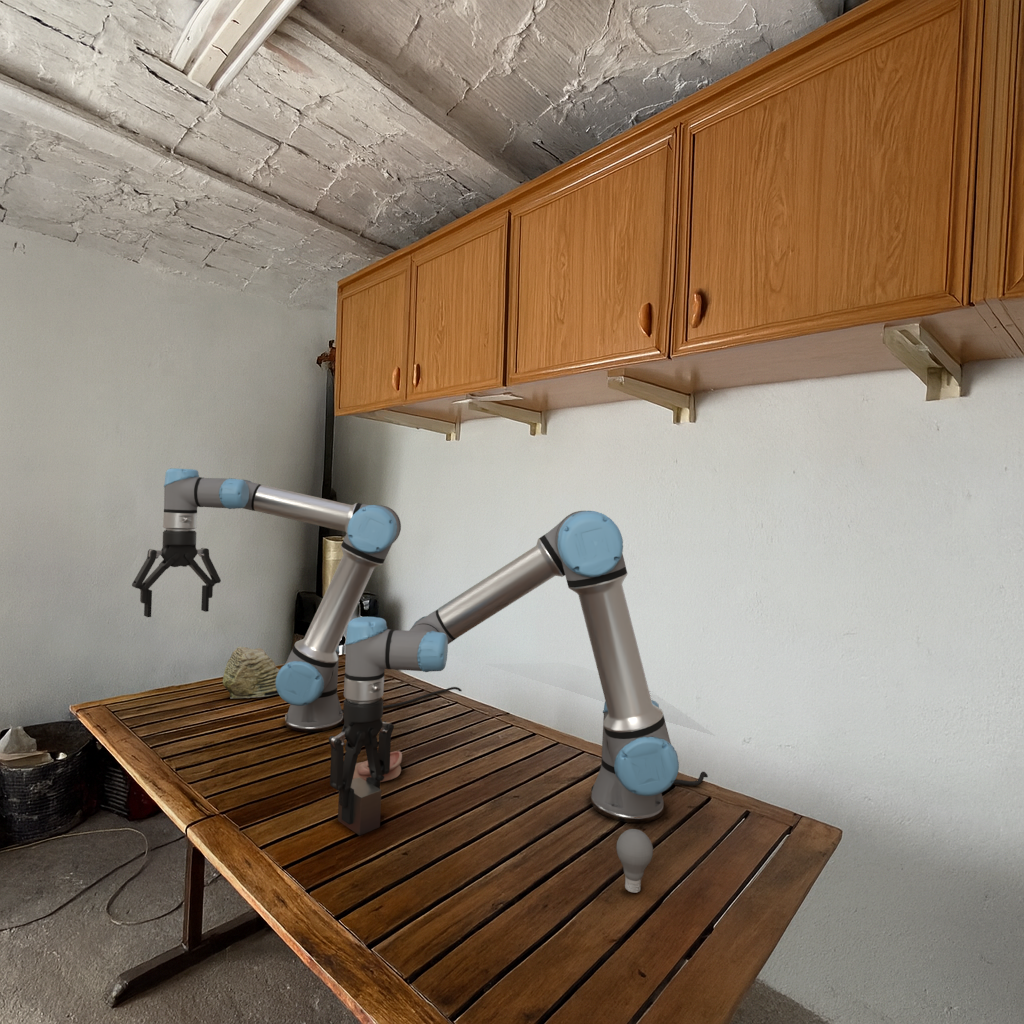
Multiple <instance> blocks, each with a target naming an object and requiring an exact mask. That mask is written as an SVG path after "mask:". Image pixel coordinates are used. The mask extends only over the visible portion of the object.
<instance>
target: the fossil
mask: <svg viewBox="0 0 1024 1024" xmlns="http://www.w3.org/2000/svg"><path fill="white" fill-rule="evenodd" d="M279 670H280V669H279V668H278V667H277V665H276V663H275V662H274V660H273V659H272V658H271V657H270V656H269V655H268V654H267V653H266V652H265V650H264V649H263V648H260V647H258V648H251V647H247V646H246V647H245V646H238V647H237V648H236V649H235V650H233V651H232V653H231V656H230V657H229V659H228V660H227V663H226V666H225V668H224V671H223V675H222V676H223V677H222V685H223V687H224V688H225V690H226V691H228V693H229V698H230V699H250V698H264V697H271V696H275V695H279V694H278V692H277V689H276V677H277V674H278V672H279Z"/></svg>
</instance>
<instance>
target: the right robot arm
mask: <svg viewBox="0 0 1024 1024" xmlns="http://www.w3.org/2000/svg"><path fill="white" fill-rule="evenodd" d="M623 551H624V539H623V535H622V533H621V529H619V526H618V525H617V524H616V523H615V521H613V519H611V517H610V516H608V515H606V514H604V513H602V512H599V511H595V510H578V511H573V512H572V513H570V514H568V515H566V516H565V517H564V518H563V519H562V520H561V521H559V522H558V523H557V524H556V525H555V526H554V527H553V528H552V529H550V530H549V531H547V532H546V533H545V534H543V535H542V536H540V537H538V538H537V541H536V545H535V546H534V547H532V548H530V549H529V550H527V551H526V552H524V553H522V554H521V555H519V556H518V557H516V558H514V559H513V560H512V561H510V562H509V563H507V564H505V565H504V566H502V567H501V568H499V569H497V570H496V571H495V572H492V573H491V574H490V575H488V576H487V577H485V578H484V579H482V580H481V581H479V582H477V583H476V584H474V585H473V586H471V587H470V588H468V589H467V590H465V591H463V592H462V593H460V594H458V595H457V596H455V597H453V598H452V599H451V600H449V601H448V602H446V603H445V604H443V605H441V606H440V607H438V609H436V610H434V611H432V612H430V613H429V614H428V615H426V616H422V617H420V618H419V619H417V620H416V621H414V624H413V625H412V626H411V628H409V630H403V629H401V630H398V629H397V630H396V629H389V628H388V626H387V621H386V619H385V618H382V617H376V616H359V617H355V618H351V619H350V621H349V623H348V625H347V628H346V637H345V643H344V644H345V660H344V662H345V663H344V684H343V685H344V686H343V697H344V698H345V699H344V700H343V707H342V708H343V709H342V710H343V726H342V729H341V732H339V734H336V735H335V736H334V735H331V736H329V738H328V743H329V745H330V773H329V774H330V775H329V786H330V787H332V788H333V789H335V790H336V791H338V801H339V804H340V805H341V806H342V820H343V821H345V822H346V823H348V824H349V825H350V824H353V804H354V789H352V788H351V784H352V779H353V775H354V771H355V766H356V763H358V758H359V755H360V754H361V751H362V748H365V754H366V761H367V760H368V766H369V771H370V775H371V777H368V778H366V781H367V782H368V783H370V784H372V785H374V786H375V787H377V788H379V789H381V782H380V781H383V780H384V776H383V775H384V774H388V773H389V771H390V753H391V745H392V734H393V732H394V728H395V725H394V724H392V723H391V722H389V721H386V720H383V719H382V718H383V716H384V715H383V714H384V709H383V706H384V698H383V696H384V691H385V690H384V689H385V670H395V671H398V670H399V671H412V672H414V671H415V672H424V673H429V672H441V671H444V669H445V668H446V666H447V661H448V650H449V647H448V646H449V644H451V643H452V642H455V640H457V639H458V638H459V637H461V636H462V635H464V634H466V633H467V632H469V631H470V630H472V629H474V628H476V627H477V626H478V625H480V624H482V623H483V622H485V621H486V620H488V619H489V618H491V617H492V616H494V615H496V614H497V613H499V612H501V611H502V610H504V609H506V608H507V607H509V606H510V605H512V604H513V603H515V602H516V601H518V600H520V599H521V598H523V597H524V596H526V595H528V594H529V593H531V592H532V591H534V590H535V589H537V588H539V587H540V586H541V585H544V584H545V583H546V582H548V581H550V580H552V579H553V578H555V577H556V576H557V577H561V578H564V577H565V580H566V583H567V584H566V585H567V588H568V589H569V590H571V591H572V592H574V593H576V594H577V595H578V600H579V602H580V607H581V610H582V615H583V618H584V622H585V627H586V631H587V635H588V639H589V642H590V646H591V651H592V654H593V658H594V662H595V666H596V670H597V674H598V678H599V682H600V685H601V689H602V694H603V696H604V704H603V710H602V714H603V717H602V719H603V721H602V739H601V740H602V742H601V743H602V744H601V761H600V768H599V771H598V774H597V777H596V779H595V781H594V783H593V785H592V786H591V789H590V794H591V795H590V804H591V806H592V807H593V809H594V810H595V811H596V812H597V813H599V814H601V815H602V816H604V817H607V818H608V819H610V820H615V821H618V822H622V823H630V824H643V823H644V824H645V823H649V822H653V821H656V820H658V819H659V818H660V817H662V815H663V813H664V805H665V804H664V803H665V802H664V797H663V793H664V792H667V791H669V790H670V789H671V787H672V786H673V785H681V786H688V787H696V786H699V785H700V784H702V783H703V781H704V779H705V778H708V777H709V776H708V773H707V772H705V771H701V772H700V774H699V777H698V778H697V779H696V780H684V779H677V777H678V775H679V770H680V762H679V756H678V752H677V750H675V747H674V746H673V745H672V742H671V739H670V735H669V730H668V727H667V724H666V720H665V716H664V712H663V710H662V708H660V705H659V703H658V702H656V701H655V700H654V699H652V697H651V693H650V689H649V685H648V680H647V677H646V674H645V669H644V666H643V661H642V656H641V654H640V650H639V649H640V648H639V645H638V641H637V638H636V633H635V630H634V625H633V622H632V618H631V614H630V611H629V606H628V603H627V598H626V595H625V591H624V587H623V583H624V582H625V580H626V578H627V576H628V571H627V566H626V561H625V558H624V554H623ZM345 741H346V742H345ZM344 749H345V750H344ZM697 780H698V781H697ZM383 782H384V781H383Z"/></svg>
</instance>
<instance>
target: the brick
mask: <svg viewBox="0 0 1024 1024" xmlns="http://www.w3.org/2000/svg"><path fill="white" fill-rule="evenodd" d="M351 788H352V789H354V804H353V824H350V825H349V824H348V823H346V822H345V821H343V820H342V806H341V805H340V804H339V800H338V802H337V803H338V806H337V822H339V823H340V824H342V825H343V826H344V827H346V828H347V829H349V830H351V831H352V832H354V834H356V835H357V836H362V835H365V834H367V833H369V832H372V831H374V830H377V829H379V828H381V811H382V789H381V788H380V789H379V788H377V787H375V786H374V785H372V784H370V783H368V782H367V781H365V780H363V779H361V778H360V777H358V778H355V779H353V780H352V784H351Z"/></svg>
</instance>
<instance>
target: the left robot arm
mask: <svg viewBox="0 0 1024 1024" xmlns="http://www.w3.org/2000/svg"><path fill="white" fill-rule="evenodd" d="M199 474H200V473H199V471H198V470H197V469H193V468H191V469H190V468H175V467H174V468H173V467H171V468H168V469H167V470H166V472H165V475H164V484H163V489H164V490H163V494H164V495H163V499H164V501H163V518H162V521H163V522H162V523H163V524H162V527H163V529H165V530H163V531H162V548H161V550H158V549H152V548H149V549H148V550H147V555H146V556H147V557H146V559H145V561H144V562H143V564H142V566H141V568H140V569H139V571H138V573H137V574H136V577H135V578H134V580H133V581H132V583H131V586H132V587H133V588H135V589H138V590H140V592H139V593H140V595H139V597H140V598H139V602H140V603H141V604H143V616H144V617H146V618H151V617H152V605H153V603H152V602H153V590H152V589H150V588H151V587H152V586H153V585H154V583H155V582H156V581H157V580H159V578H160V577H161V576H162V575H163V574H164V573H165V572H166V570H168V569H169V568H170V567H172V568H178V567H182V568H183V567H184V568H186V567H189V568H191V570H193V572H194V573H195V574H196V575H197V576H198V577H199V578H200V579H201V581H202V582H203V583H204V585H203V584H202V585H201V609H200V610H201V611H202V612H204V613H207V612H209V610H210V609H209V607H210V599H212V598H213V596H214V595H213V593H214V592H213V591H214V586H215V585H216V584H220V583H221V582H222V581H221V577H220V576H219V573H218V571H217V570H216V567H215V565H214V563H213V561H212V559H211V557H210V549H209V548H206V547H201V548H198V549H197V531H196V530H195V529H197V526H198V508H213V509H214V508H215V509H228V510H235V509H242V510H243V509H244V510H248V511H253V512H258V513H262V514H267V515H272V516H276V517H279V518H283V519H288V520H294V521H297V522H301V523H305V524H310V525H314V526H319V527H322V528H323V527H324V528H327V529H331V530H337V531H340V532H345V536H344V538H343V540H342V542H341V545H340V549H341V550H342V551H341V552H342V556H341V559H340V561H339V562H338V565H337V566H336V569H335V571H334V574H333V576H332V579H331V580H330V582H329V584H328V587H327V589H326V590H325V593H324V595H323V597H322V599H321V601H320V604H319V605H318V608H317V610H316V612H315V613H314V616H313V618H312V620H311V622H310V624H309V627H308V629H307V631H306V633H305V635H304V637H303V639H300V640H296V642H295V643H294V645H293V646H292V649H291V651H290V653H289V655H288V657H287V660H286V662H285V664H284V665H282V666H281V667H280V669H279V672H278V674H277V677H276V689H277V692H278V694H277V695H279V697H280V698H281V699H282V700H283V701H284V702H285V703H286V704H289V708H288V711H287V712H286V714H285V715H284V719H285V726H286V728H287V729H289V730H291V731H294V732H295V731H296V732H301V733H316V732H325V731H329V730H332V729H335V728H337V727H339V726H340V725H342V723H344V718H343V709H342V706H341V702H340V699H339V695H338V682H339V681H338V680H339V678H338V677H339V660H340V659H339V657H340V656H339V655H340V645H339V644H340V642H341V640H342V638H343V637H344V634H345V632H346V631H347V627H348V623H349V622H350V621H351V620H352V616H353V615H354V612H355V611H356V609H357V606H358V604H359V602H360V600H361V598H362V595H363V594H364V591H365V590H366V587H367V585H368V583H369V580H370V578H371V577H372V574H373V572H374V570H375V569H376V568H377V567H379V566H383V564H384V562H385V560H386V559H387V556H388V554H389V552H390V550H391V548H392V546H393V544H394V543H395V542H396V541H397V540H398V538H399V536H400V534H401V531H402V523H401V519H400V517H399V515H398V514H397V512H396V511H395V510H394V509H392V508H390V507H389V506H386V505H381V504H366V503H361V502H355V503H354V504H349V503H345V502H339V501H336V500H332V499H326V498H322V497H319V496H313V495H309V494H306V493H300V492H296V491H292V490H288V489H283V488H279V487H274V486H271V485H266V484H260V483H257V482H252V481H251V480H247V479H243V478H242V479H239V478H238V479H237V478H231V477H229V478H223V477H222V478H221V477H202V476H200V475H199ZM197 555H198V556H199V557H200V559H201V560H202V563H203V565H204V567H205V569H206V571H207V572H208V574H209V576H208V574H207V573H206V572H205V571H204V570H203V569H202V567H201V566H200V565H199V564H198V562H196V559H195V558H196V557H197ZM160 556H161V558H162V561H161V562H159V564H158V566H157V567H156V568H155V569H154V570H153V571H152V572H151V574H149V572H150V571H151V570H152V567H153V566H154V564H155V562H156V559H158V558H159V557H160ZM148 574H149V575H148ZM146 577H147V578H146ZM452 690H457V692H462V691H463V690H462V689H461V688H460V687H458V686H451V687H448V688H445V689H440V690H435V691H432V692H429V693H426V694H422V695H419V696H417V697H415V698H414V697H413V698H412V699H408V700H404V701H402V702H401V701H400V702H397V703H392V704H391V703H390V704H386V705H383V710H384V709H389V708H395V707H399V706H402V705H406V704H407V705H408V704H410V703H414V702H417V701H419V700H422V699H424V698H428V697H430V696H431V697H432V696H433V695H436V694H441V693H445V692H449V691H452Z"/></svg>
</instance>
